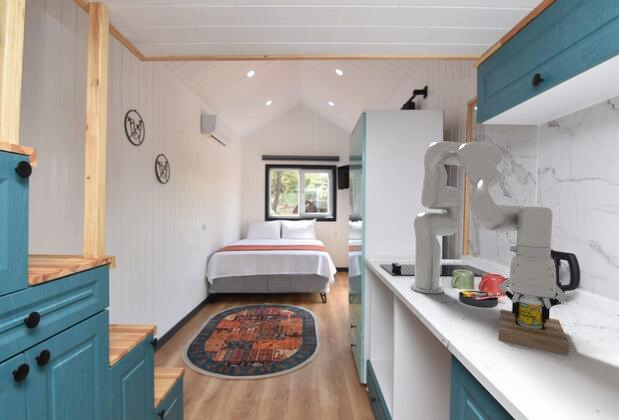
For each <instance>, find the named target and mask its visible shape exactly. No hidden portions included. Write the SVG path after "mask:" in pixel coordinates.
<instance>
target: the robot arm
mask: <svg viewBox="0 0 619 420" xmlns="http://www.w3.org/2000/svg"><path fill="white" fill-rule="evenodd" d="M502 158H503V153H502V149H501V148H500V147H499V146H498V145H496V144H494V143H489V142H481V141H480V142H479V141H469V142H458V141H457V142H456V141H446V140H445V141H444V140H441V141H435V142H433V143H431V144H430V145H429V146H428V147H427V148H426V150H425V152H424V157H423V167H424V177H423V182H422V191H421V199H420V200H421V202H420V203H421V206H422V207H423V208H424V209H428V210H441V212H437V211H435V212H432V211H429V212H428V211H427V212H421V213H419V214H417V215H416V216H415V217H414V220H413V227H414V228H413V229H414V234H415V258H414V259H415V260H414V282H413V283H411V284H410V286H409V288H410V289H411V290H413V291H415V292H418V293H424V294H432V295H434V294H435V295H436V294H437V295H438V294H442V293H443V292H444V288H443V287H442V286H441V285H440V278H441V277H440V276H441V275H440V273H441V249H442V248H441V244H440V241H439V240H438V238H437V237H440V236H441V237H442V236H443V237H445V236H446V237H447V236H452V235H454V234H455V233H456V232H457V230H458V227H459V222H460V216H461V211H462V203H463V197H462V192H461V191H460V190H459V189H458V188H457V187H455V186H448V185H447V181H448V173H447V170H446V167H445V165H449V166H461V167H462V169H463V171H464V172H465V175H466V176H467V178H468V179H469V181H470V183H471V185H472V189H471V192H470V196H469V198H470V199H469V203H470V208H471V211H472V212H473V214H474V216H475V217H476V219H477V221H478V222H479V224H480V225H481V226H482V227H483V228H484V229H486V230H487V231H491V232H493V231H494V232H516V245H514V246H511V245H510V246H509V251H510V252H513V253H515V254H514V255H512V258H511V263H510V268H509V277H508V278H507V279H505V280H504V281H503V282H502V283H500V284H499V285H498V289H499V290H500V291H501V292H502V293H503V294H505V295H506V297H507V298H508V299H509V300H510V301H511V304H512V305H511V311H512V313H514V314H515V318H518V308H519V303H518V301H519V297H521V295H522V294H523V295H529V296H536V297H539V298H542V301H543V302H544V303H543V312H542V322H543V323H546V319H547V320H549V318H550V311H551V309H552V308H553V307H555V305H558V304H559V303H560V302H563V301H565V300H567V298H568V295H567V294H565V293H564V291H563V290H562V289H561V288H560V287H559V286H558V285H557V272H556V270H557V269H556V263H555V259H553V258H551V253H552V252H551V250H552V233H553V232H552V231H553V230H552V229H553V211H552V209H551V208H549V207H545V206H544V207H543V206H520V205H505V204H496V202H495V201H494V200H493V197H492V196H491V194H490V192H489V190H490V189H491V188H493V187H494V186H495V185H496V186H497V184H498V183H499V182H500V181H501V179H502V173H501V171H500V170H499V169H498V167H497V166H499V165H500V163H502ZM507 287H508V288H509V290H508V288H507ZM556 294H557V295H556ZM523 295H522V296H523Z"/></svg>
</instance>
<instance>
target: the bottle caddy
mask: <svg viewBox="0 0 619 420" xmlns="http://www.w3.org/2000/svg"><path fill="white" fill-rule="evenodd" d="M498 322H499V323H498V340H499V341H502V342H506V341H507V342H508V343H511V342H512V344H515V343H516V345H520V346H524V345H525V346H524V347H528V348H533V347H534V349H537V348H538V350H543V351H547V352H552V353H556V354H560V355H565V356H569V353H570V352H569V351H570V350H569V348H570V342H569V340H568V337H567V336H566V335H567V334H566V332H565V331H564V328H563V327H562V324H561V322H560V320H559V319H556V318H551V317H549V320H547V319H546V323H543V322H542V328H540V329H535V328H530V327H525V326H521V325H520V324H519V323H518V318H515V314H514V313H512V310H507V309H500V313H499V321H498Z"/></svg>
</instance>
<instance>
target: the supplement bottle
mask: <svg viewBox="0 0 619 420" xmlns="http://www.w3.org/2000/svg"><path fill="white" fill-rule="evenodd" d="M543 302H544V301H543V299H541V298H540V297H536V296H529V295H523V294H521V295H520V296H519V298H518V303H519V308H518V323H519V324H520V325H521V326H525V327H530V328H535V329H540V328H542V312H543V304H544V303H543Z"/></svg>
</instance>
